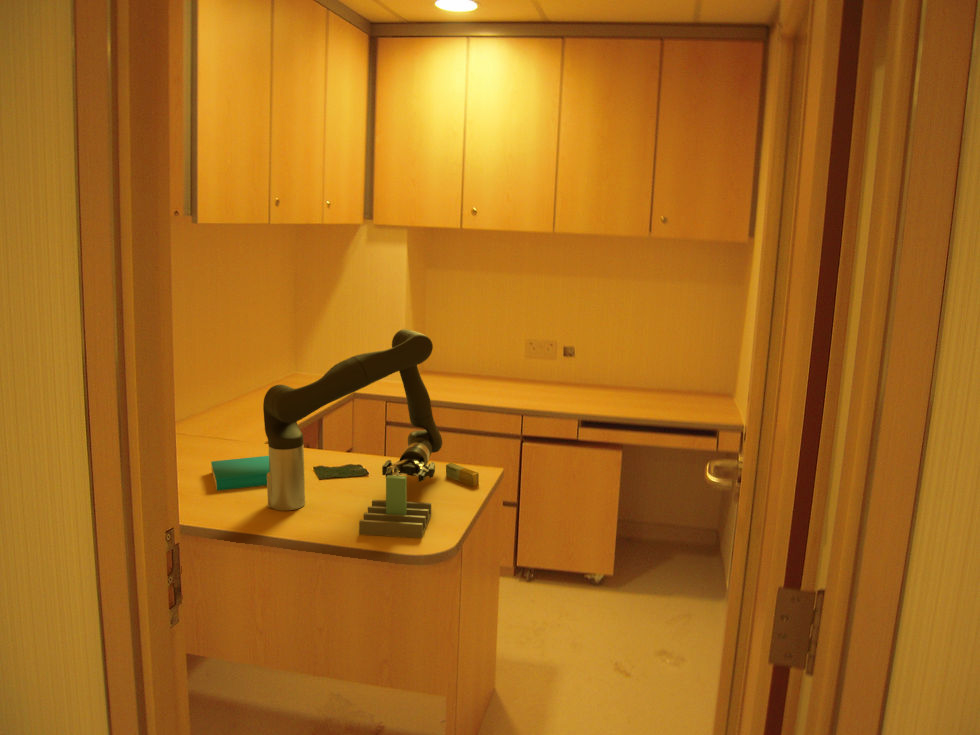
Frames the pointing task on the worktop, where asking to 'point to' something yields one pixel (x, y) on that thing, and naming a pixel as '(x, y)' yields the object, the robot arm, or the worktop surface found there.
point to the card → (396, 495)
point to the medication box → (462, 474)
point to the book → (240, 472)
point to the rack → (396, 520)
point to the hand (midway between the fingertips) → (404, 477)
